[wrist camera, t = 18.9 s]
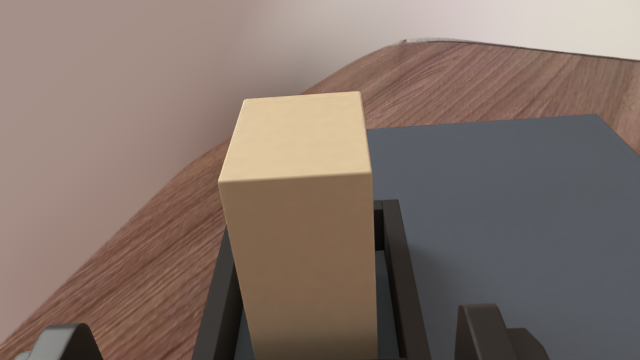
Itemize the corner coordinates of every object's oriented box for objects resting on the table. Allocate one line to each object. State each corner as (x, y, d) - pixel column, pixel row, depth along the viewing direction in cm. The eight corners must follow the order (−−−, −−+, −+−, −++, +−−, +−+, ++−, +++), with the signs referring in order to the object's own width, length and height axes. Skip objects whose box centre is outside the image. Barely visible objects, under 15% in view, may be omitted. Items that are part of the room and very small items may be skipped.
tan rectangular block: (259, 382, 20) (216, 181, 16) (272, 275, 25) (243, 98, 21) (378, 377, 20) (372, 171, 15) (368, 269, 25) (360, 90, 20)
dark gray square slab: (181, 479, 19) (150, 401, 17) (252, 161, 39) (243, 104, 37) (875, 454, 18) (946, 366, 16) (591, 139, 38) (604, 78, 35)
